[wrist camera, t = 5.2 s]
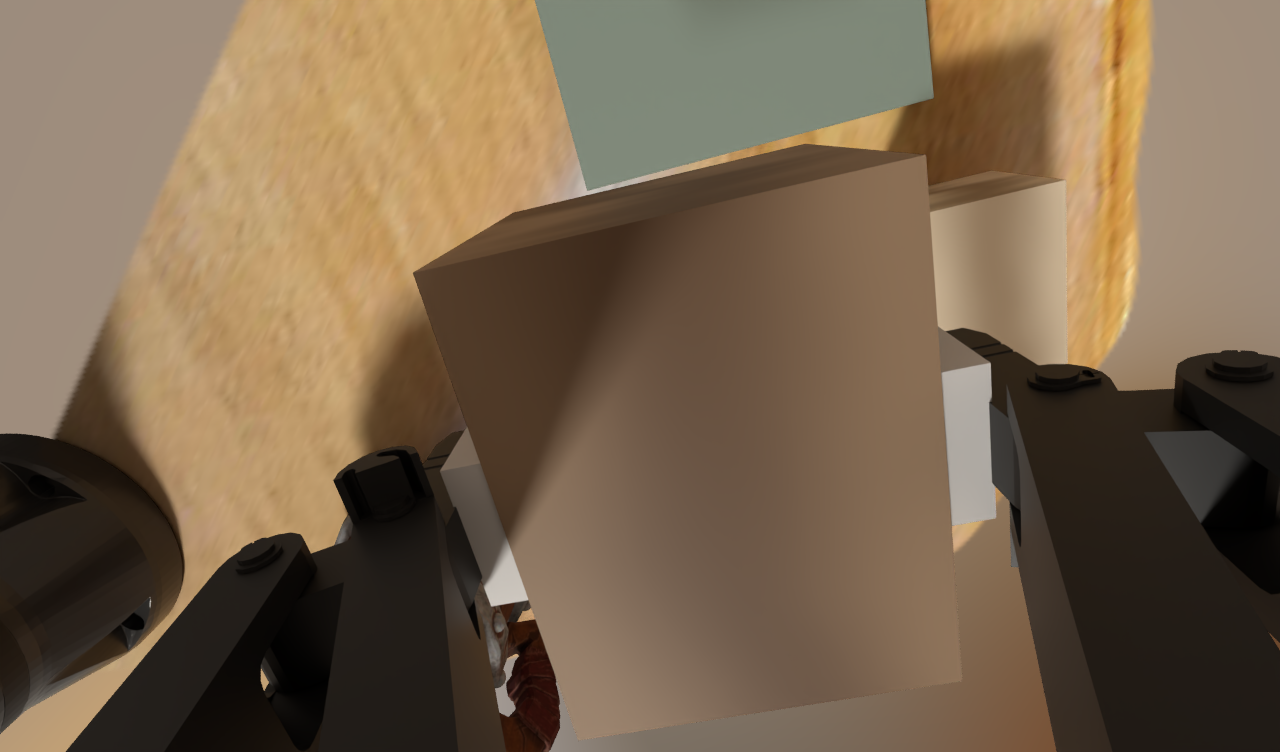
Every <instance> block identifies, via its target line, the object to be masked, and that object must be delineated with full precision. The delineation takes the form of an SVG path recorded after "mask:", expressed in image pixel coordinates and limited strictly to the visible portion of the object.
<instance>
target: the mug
mask: <svg viewBox="0 0 1280 752" xmlns="http://www.w3.org/2000/svg"><path fill="white" fill-rule="evenodd" d="M352 528H353V523H352V521H351V519H350V517H349V514H348V515H347V517H346V519H345V521H344V522H343V524H342V527H341V529H340V532H339V534H338V537H337V540H336V542H335V545H337V544H340V543H342V542H345V541H347V540H350V539H351V534H352ZM474 599H475V601H476V604H477V606H478V609H479V611H480V614H481V617H482V619H483V625H484V631H485V636H486V642H487V647H488V653H489V659H490V664H491V670H492V675H493V681H494V687H495V688H499V687H501V686H502V685H503V684H504V683H505V680H506V675H505V672H504V670H503V668H504V665H505V662H506V660H507V658H508V657H510V656H512V655H514V654H518V655H519V657H518V658H517V659H516V661H515V663H514V667H513V670H512V676H511V677H510V679H509V680H508V681H507V683H506V686H507V693H508V697H509V698H510V699H511V701H513V702H514V705H515V707H516V710H515V711H514V712H513V713H512V714H511V715H510V716H509V717H507V716H505V715H503V714H501V713H499V715H500V720H501V726H502V732H503V737H504V743H505V748H506V752H549V750H551V747H552V745H553V743H554V740H555V738H556V736H557V733H558V731H559V729H560V720H559V719H560V711H559V704H560V700H559V695H558V690H557V686H556V677H555V673H554V670H553V668H552V665H551V662H550V659H549V656H548V653H547V651H546V648H545V645H544V642H543V639H542V636H541V634H540V631H539V628H538V625H537V622H536V620H528V621H522V622H517V621H518V619H519V617H520V615H521V613H522V611H527V610H529V609H530V608H531V605H530V603H529V600H526V601H520V602H514V603H509V604H503V605H497V606H491V605H490V602H489V599H488V597H487V594H486V591H485V589H484V586H483V583H482V581H481V582H480V585H479V587H478V590H477V593H476V595H475V598H474Z"/></svg>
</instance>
